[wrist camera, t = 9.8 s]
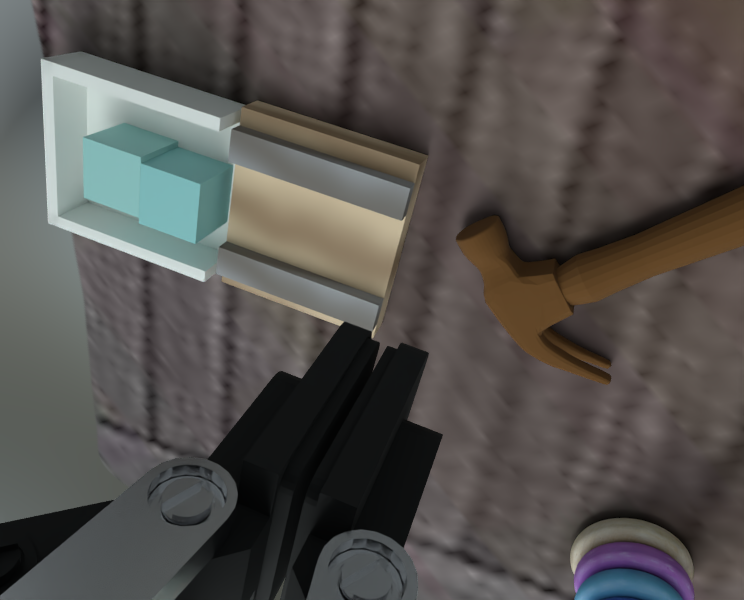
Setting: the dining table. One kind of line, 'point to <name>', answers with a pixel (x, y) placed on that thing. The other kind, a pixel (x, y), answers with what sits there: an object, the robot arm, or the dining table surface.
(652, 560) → the stacking toy
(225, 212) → the teal cube block
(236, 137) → the slot board
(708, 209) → the hammer
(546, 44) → the dining table surface
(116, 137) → the light teal cube
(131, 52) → the dining table surface
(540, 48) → the dining table surface
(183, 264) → the tray
